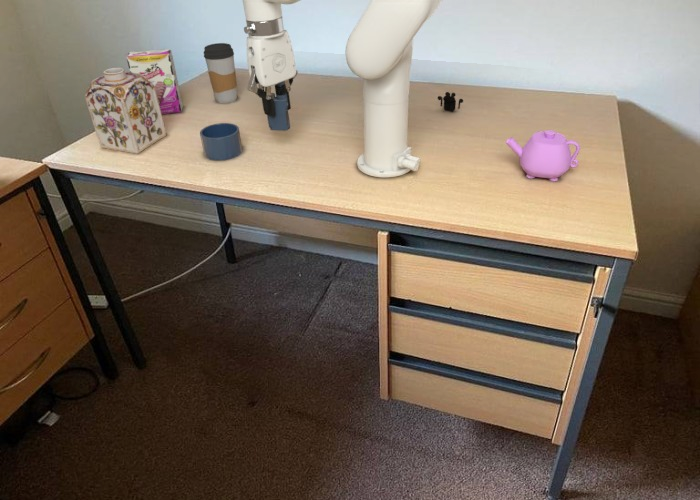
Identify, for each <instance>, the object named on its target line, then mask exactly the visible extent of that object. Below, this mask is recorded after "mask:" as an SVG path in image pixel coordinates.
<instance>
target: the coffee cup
mask: <svg viewBox="0 0 700 500" xmlns="http://www.w3.org/2000/svg"><path fill="white" fill-rule="evenodd" d="M203 49H204V51H203V58H204V59H205V64H206V67H207V68H206V69H207V71H208V72H207V73H208V78H209V80H210V84H211V88H212V92H213V95H214V100H216V103H219V104H229V103H233V102H235V101H237V100H238V85H237V74H236V65H235V58H234V57H235V52H234V48H232V45H231V44H230V43H227V42H218V43H211V44H207V45H205V46H204V47H203Z"/></svg>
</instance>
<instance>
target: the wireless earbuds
mask: <svg viewBox="0 0 700 500" xmlns="http://www.w3.org/2000/svg"><path fill="white" fill-rule="evenodd" d="M444 94H445V95H444V96H443V97H442V96H441V95H438V96H437V100H438V101H440V107H443V110H444V111H448V112H455V110H456V105H457V104H458V106H457V110H460V108H461V104H463V103H464V99H463V98H459V100H458V103H457V99H456V98H455V97H456V95H457V94H456V93H455V92H451V93H450V92H449V91H446V92H445V93H444Z"/></svg>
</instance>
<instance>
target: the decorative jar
mask: <svg viewBox="0 0 700 500" xmlns="http://www.w3.org/2000/svg"><path fill="white" fill-rule="evenodd" d="M125 70H126V69H124V68H122V67H112V68H107V69H105V70H104V71H103V75H100V76H98V77H97V78H94V79H92V80H91V82H90V84H89V86H88V87H87V90H86V92H85V94H84V100H85V103H86V105H87V106H86V107H87V109H88V111H89V115H90V118H91V119H90V120H91V121H92V124H93V127H94V131H95V134H96V137H97V140H98V143H99V144H100V147H101V148H102V149H106V150H107V149H108V150H113V151H118V152H124V153H125V152H126V153H131V154H140V153H142V152H144V150H146V149H147V148H149V147H150V146H153V145H154V144H155V143H157V142H159V141H160V140H161V139H163V138H164V137H166V136H167V131H166V128H165V123H164V118H163V114H161V110H160V106H159V102H158V98H157V95H156V91H155V87H154V85H153V84H152V83H151V82H150V81H148V80H147V79H146V78H144V77H143V76H142V75H141V74H139V73H132V72H130V71H125Z"/></svg>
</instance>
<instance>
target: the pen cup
mask: <svg viewBox="0 0 700 500" xmlns="http://www.w3.org/2000/svg"><path fill="white" fill-rule="evenodd" d="M199 137H200V141H201V146H202V150H203V155H204V157H205V158H206V159H208V160H211V161H220V162H221V161H227V160H228V161H229V160H232V159H235V158H237V157H238V156H240V155H241V154H242V152H243V145H242V138H241V132H240V127H239V126H238V125H237V124H234V123H231V122H220V123H214V124H209V125H206V126H205V127H202V128H201V130H200V131H199Z"/></svg>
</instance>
